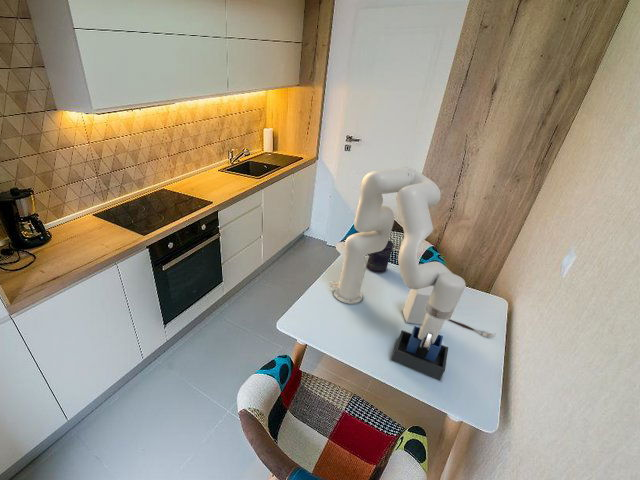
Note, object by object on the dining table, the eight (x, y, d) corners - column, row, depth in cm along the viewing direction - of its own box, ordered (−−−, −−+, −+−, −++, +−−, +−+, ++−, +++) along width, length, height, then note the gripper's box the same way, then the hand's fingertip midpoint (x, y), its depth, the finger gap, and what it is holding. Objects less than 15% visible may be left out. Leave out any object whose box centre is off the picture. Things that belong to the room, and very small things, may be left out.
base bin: (391, 360, 115) (395, 349, 112) (397, 340, 123) (401, 329, 120) (439, 380, 108) (445, 370, 105) (443, 357, 116) (448, 347, 113)
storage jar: (383, 275, 161) (391, 249, 153) (364, 269, 166) (370, 244, 158) (387, 266, 169) (395, 241, 161) (368, 261, 173) (375, 236, 165)
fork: (448, 318, 134) (450, 315, 133) (493, 337, 125) (496, 333, 124) (447, 322, 133) (449, 318, 131) (492, 340, 124) (495, 336, 123)
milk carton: (424, 325, 130) (440, 287, 120) (406, 322, 132) (420, 285, 121) (419, 314, 136) (434, 277, 126) (402, 311, 137) (415, 275, 127)
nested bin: (405, 350, 113) (411, 337, 109) (409, 338, 118) (414, 325, 114) (434, 362, 108) (440, 348, 105) (436, 349, 113) (443, 335, 110)
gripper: (429, 291, 111) (414, 329, 120) (422, 319, 99) (406, 359, 108) (454, 299, 107) (436, 337, 117) (450, 329, 95) (430, 369, 105)
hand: (422, 347), depth 112 cm, fingers closed on nested bin, 7 cm apart
